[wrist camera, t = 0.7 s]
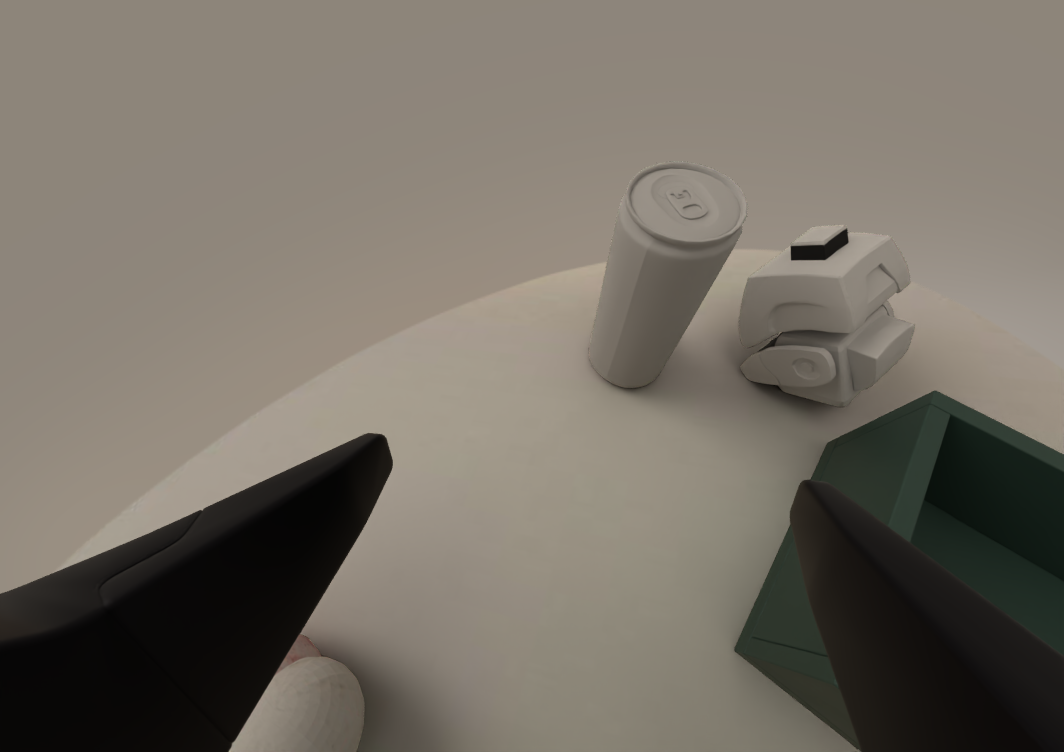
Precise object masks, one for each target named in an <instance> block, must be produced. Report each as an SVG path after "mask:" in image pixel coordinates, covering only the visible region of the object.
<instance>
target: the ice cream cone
mask: <svg viewBox="0 0 1064 752" xmlns="http://www.w3.org/2000/svg"><path fill="white" fill-rule="evenodd" d="M363 728H364V698H363V695H362V692H361V688H360V685H359V682H358V679H357V678H356V677H355V676H354V675H353V674H352V672H351V671H350V670H349V669H348V668H347V667H346V666H345V665H344V664H343V663H340V662H338V661H335V660H333V659H331V658H328V657H321V654H320V652H319V650H318V649H317V648H316V647H315V646H314V644H313V643H312V642H311V641H310V640H309V639H308V638H307V637H305V636H303V635H301V634H299V636H298V637H297V639H296V641H295V642H294V644H293V646H292V647H291V649H290V651H289V652H288V654H287V656H286V657H285V659H284V661H283V662H282V664H281V666H280V667H279V669H278V671H277V672H276V674H275V676H274V677H273V679H272V680H271V682H270V684H269V685H268V687H267V689H266V690H265V692H264V694H263V695H262V697H261V699H260V700H259V702H258V704H257V705H256V707H255V709H254V710H253V712H252V714H251V715H250V717H249V719H248V720H247V722H246V723H245V725H244V727H243V728H242V730H241V732H240V733H239V735H238V737H237V738H236V740H235V741H234V743H232V747H231V749H230V750H229V752H357V749H358V746H359V742H360V739H361V735H362V731H363Z"/></svg>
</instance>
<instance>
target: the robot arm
mask: <svg viewBox="0 0 1064 752" xmlns="http://www.w3.org/2000/svg"><path fill="white" fill-rule="evenodd" d="M392 466H393V460H392V456H391V453H390V449H389V446H388V442H387V439H386V437H385V436H384V435H382V434H374V433H367V434H364V435H362V436H360V437H358V438H356V439H353V440H351V441H349V442H347V443H345V444H343V445H340V446H338V447H336V448H334V449H332V450H330V451H327V452H325V453H323V454H321V455H319V456H317V457H314V458H312V459H310V460H308V461H306V462H304V463H301V464H299V465H297V466H295V467H293V468H291V469H288V470H286V471H284V472H282V473H280V474H278V475H275V476H273V477H271V478H269V479H267V480H265V481H262V482H260V483H258V484H256V485H254V486H252V487H249V488H247V489H245V490H243V491H241V492H239V493H236V494H234V495H232V496H230V497H228V498H226V499H223V500H221V501H219V502H217V503H215V504H213V505H210V506H208V507H206V508H204V509H203V511H202V510H199V511H197V512H195V513H193V514H191V515H188V516H186V517H184V518H182V519H180V520H178V521H175V522H173V523H171V524H169V525H166V526H164V527H162V528H160V529H157V530H155V531H153V532H151V533H149V534H146V535H144V536H142V537H139V538H137V539H134V540H132V541H130V542H127V543H125V544H123V545H120V546H118V547H115V548H113V549H111V550H108V551H106V552H103V553H101V554H99V555H96V556H94V557H91V558H89V559H86V560H84V561H82V562H79V563H77V564H74V565H72V566H69V567H67V568H65V569H62V570H60V571H57V572H55V573H52V574H50V575H48V576H45V577H43V578H40V579H38V580H36V581H33V582H31V583H28V584H26V585H23V586H21V587H18V588H16V589H13V590H10V591H7V592H5V593H1V594H0V752H229V750H230V749H231V747H232V743H234V741H235V740H236V738H237V737H238V735H239V733H240V732H241V730H242V728H243V727H244V725H245V723H246V722H247V720H248V719H249V717H250V715H251V714H252V712H253V710H254V709H255V707H256V705H257V704H258V702H259V700H260V699H261V697H262V695H263V694H264V692H265V690H266V689H267V687H268V685H269V684H270V682H271V680H272V679H273V677H274V676H275V674H276V672H277V671H278V669H279V667H280V666H281V664H282V662H283V661H284V659H285V657H286V656H287V654H288V652H289V651H290V649H291V647H292V646H293V644H294V642H295V641H296V639H297V637H298V636H299V634H300V633H301V631H302V629H303V628H304V626H305V624H306V623H307V621H308V619H309V618H310V616H311V614H312V613H313V611H314V609H315V608H316V606H317V604H318V603H319V601H320V599H321V598H322V596H323V594H324V593H325V591H326V590H327V588H328V586H329V585H330V583H331V581H332V580H333V578H334V576H335V575H336V573H337V571H338V570H339V568H340V566H341V565H342V563H343V561H344V560H345V558H346V556H347V555H348V553H349V551H350V550H351V548H352V547H353V545H354V543H355V542H356V540H357V538H358V537H359V535H360V533H361V531H362V530H363V528H364V526H365V524H366V522H367V520H368V518H369V517H370V514H371V512H372V510H373V508H374V506H375V504H376V502H377V500H378V498H379V496H380V494H381V491H382V489H383V487H384V485H385V483H386V481H387V479H388V477H389V475H390V473H391V470H392ZM790 523H791V527H792V532H793V536H794V541H795V545H796V549H797V554H798V558H799V562H800V567H801V571H802V575H803V580H804V584H805V588H806V592H807V596H808V600H809V603H810V606H811V610H812V613H813V616H814V619H815V621H816V624H817V627H818V630H819V633H820V636H821V638H822V641H823V644H824V647H825V650H826V653H827V655H828V658H829V661H830V664H831V667H832V670H833V672H834V675H835V678H836V681H837V684H838V687H839V689H840V692H841V695H842V698H843V701H844V704H845V707H846V709H847V712H848V715H849V718H850V721H851V724H852V726H853V729H854V732H855V735H856V738H857V741H858V743H859V746H860V749H861V752H1064V656H1063V655H1062V654H1061V653H1059V652H1058V651H1056V650H1055V649H1054V648H1052V647H1051V646H1050V645H1048V644H1047V643H1046V642H1044V641H1043V640H1042V639H1040V638H1039V637H1038V636H1036V635H1035V634H1033V633H1032V632H1031V631H1029V630H1028V629H1027V628H1025V627H1024V626H1023V625H1021V624H1020V623H1019V622H1017V621H1016V620H1014V619H1013V618H1012V617H1010V616H1009V615H1008V614H1006V613H1005V612H1004V611H1002V610H1001V609H1000V608H998V607H997V606H996V605H994V604H993V603H991V602H990V601H989V600H987V599H986V598H985V597H983V596H982V595H981V594H979V593H978V592H977V591H975V590H974V589H972V588H971V587H970V586H968V585H967V584H966V583H964V582H963V581H962V580H960V579H959V578H958V577H956V576H955V575H953V574H952V573H951V572H949V571H948V570H947V569H945V568H944V567H943V566H941V565H940V564H939V563H937V562H936V561H935V560H933V559H932V558H930V557H929V556H928V555H926V554H925V553H924V552H922V551H921V550H920V549H918V548H917V547H916V546H914V545H913V544H911V543H910V542H909V541H907V540H906V539H905V538H903V537H902V536H901V535H899V534H898V533H897V532H895V531H894V530H892V529H891V528H890V527H888V526H887V525H886V524H884V523H883V522H882V521H880V520H879V519H878V518H876V517H875V516H874V515H872V514H871V513H869V512H868V511H867V510H865V509H864V508H863V507H861V506H860V505H859V504H857V503H856V502H855V501H853V500H852V499H850V498H849V497H848V496H846V495H845V494H844V493H842V492H841V491H840V490H838V489H837V488H836V487H834V486H833V485H831V484H830V483H828V482H823V481H813V480H804V481H802V482H801V483H800V485H799V487H798V490H797V493H796V496H795V499H794V502H793V505H792V507H791V511H790Z"/></svg>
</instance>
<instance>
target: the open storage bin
mask: <svg viewBox="0 0 1064 752" xmlns="http://www.w3.org/2000/svg"><path fill="white" fill-rule="evenodd" d="M811 480H813V481H823V482H828V483H830V484H831V485H833V486H834V487H836V488H837V489H838V490H840V491H841V492H842V493H844V494H845V495H846V496H848V497H849V498H850V499H852V500H853V501H855V502H856V503H857V504H859V505H860V506H861V507H863V508H864V509H865V510H867V511H868V512H869V513H871V514H872V515H874V516H875V517H876V518H878V519H879V520H880V521H882V522H883V523H884V524H886V525H887V526H888V527H890V528H891V529H892V530H894V531H895V532H897V533H898V534H899V535H901V536H902V537H903V538H905V539H906V540H907V541H909V542H910V543H911V544H913V545H914V546H916V547H917V548H918V549H920V550H921V551H922V552H924V553H925V554H926V555H928V556H929V557H930V558H932V559H933V560H935V561H936V562H937V563H939V564H940V565H941V566H943V567H944V568H945V569H947V570H948V571H949V572H951V573H952V574H953V575H955V576H956V577H958V578H959V579H960V580H962V581H963V582H964V583H966V584H967V585H968V586H970V587H971V588H972V589H974V590H975V591H977V592H978V593H979V594H981V595H982V596H983V597H985V598H986V599H987V600H989V601H990V602H991V603H993V604H994V605H996V606H997V607H998V608H1000V609H1001V610H1002V611H1004V612H1005V613H1006V614H1008V615H1009V616H1010V617H1012V618H1013V619H1014V620H1016V621H1017V622H1019V623H1020V624H1021V625H1023V626H1024V627H1025V628H1027V629H1028V630H1029V631H1031V632H1032V633H1033V634H1035V635H1036V636H1038V637H1039V638H1040V639H1042V640H1043V641H1044V642H1046V643H1047V644H1048V645H1050V646H1051V647H1052V648H1054V649H1055V650H1056V651H1058V652H1059V653H1061V654H1062V655H1063V656H1064V454H1062V453H1060V452H1058V451H1056V450H1054V449H1052V448H1050V447H1048V446H1046V445H1044V444H1042V443H1040V442H1038V441H1036V440H1034V439H1032V438H1030V437H1028V436H1026V435H1024V434H1022V433H1020V432H1018V431H1016V430H1014V429H1012V428H1010V427H1008V426H1006V425H1004V424H1002V423H1000V422H998V421H996V420H994V419H992V418H990V417H988V416H986V415H984V414H982V413H980V412H978V411H976V410H974V409H972V408H970V407H968V406H966V405H964V404H962V403H960V402H958V401H956V400H954V399H952V398H950V397H948V396H946V395H944V394H942V393H940V392H938V391H933V392H931V393H929V394H927V395H925V396H922V397H920V398H918V399H916V400H914V401H912V402H910V403H908V404H906V405H904V406H902V407H900V408H898V409H896V410H894V411H892V412H890V413H888V414H886V415H883V416H881V417H879V418H877V419H875V420H873V421H871V422H869V423H867V424H865V425H863V426H861V427H859V428H857V429H855V430H853V431H851V432H849V433H846V434H844V435H842V436H840V437H839V438H836V439H834V440H832V441H830V442H828V443H827V445H826V447H825V450H824V452H823V454H822V456H821V458H820V461H819V463H818V465H817V467H816V470H815V472H814V474H813V476H812V478H811ZM734 650H735V652H737V653H738V654H739V655H740V656H742V657H743V658H744V659H745V660H747V661H748V662H749V663H750V664H752V665H753V666H754V667H755V668H757V669H758V670H759V671H760V672H762V673H763V674H764V675H766V676H767V677H768V678H769V679H771V680H772V681H773V682H774V683H776V684H777V685H778V686H779V687H781V688H782V689H783V690H784V691H786V692H787V693H788V694H789V695H791V696H792V697H793V698H795V699H796V700H797V701H798V702H800V703H801V704H802V705H803V706H805V707H806V708H807V709H808V710H810V711H811V712H812V713H813V714H815V715H816V716H817V717H818V718H820V719H821V720H822V721H823V722H825V723H826V724H827V725H829V726H830V727H831V728H832V729H834V730H835V731H836V732H837V733H839V734H840V735H841V736H842V737H844V738H845V739H846V740H847V741H849V742H850V743H851V744H852V745H854V746H855V747H856V748H858V749H859V750H860V751H861V749H860V746H859V743H858V741H857V738H856V735H855V732H854V729H853V726H852V724H851V721H850V718H849V715H848V712H847V709H846V707H845V704H844V701H843V698H842V695H841V692H840V689H839V687H838V684H837V681H836V678H835V675H834V672H833V670H832V667H831V664H830V661H829V658H828V655H827V653H826V650H825V647H824V644H823V641H822V638H821V636H820V633H819V630H818V627H817V624H816V621H815V619H814V616H813V613H812V610H811V606H810V603H809V600H808V596H807V592H806V588H805V584H804V580H803V575H802V571H801V567H800V562H799V558H798V554H797V549H796V545H795V541H794V536H793V532H792V527H791V525H790V527H789V529H788V532H787V534H786V536H785V538H784V540H783V543H782V545H781V547H780V549H779V551H778V554H777V556H776V558H775V560H774V562H773V565H772V567H771V569H770V571H769V574H768V576H767V578H766V580H765V582H764V585H763V587H762V589H761V591H760V593H759V596H758V598H757V600H756V602H755V605H754V607H753V609H752V611H751V613H750V616H749V618H748V620H747V622H746V624H745V627H744V629H743V631H742V633H741V636H740V638H739V640H738V642H737V644H736V647H735V649H734Z"/></svg>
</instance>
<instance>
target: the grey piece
mask: <svg viewBox="0 0 1064 752" xmlns="http://www.w3.org/2000/svg"><path fill="white" fill-rule="evenodd" d="M909 284H910V274H909V269H908V265H907V263H906V261H905V259H904V257H903V255H902V252H901V251H900V249H899V248H898V247H897V245H896V243H895V242H894V240H893V238H892V237H891V236H887V235H878V234H870V233H862V232H854V233H852V232H851V233H848V232H847V226H846V225H833V226H814V227H813V228H811V229H810V230H808V231H807V232H806V233H804V234H803V235H801V236H800V237H798V238H797V239H796V240H794V241H793V242H792V243H791V246H790V247H789V248H787V249H786V250H784V251H783V252H782V253H780V254H779V255H778V256H776V257H775V258H773V259H772V260H771V261H769V262H768V263H767V264H765V265H764V266H763V267H761V268H760V269H759V270H757V271H756V272H755V273H754V274H752V275H751V276H750V277H749V278H748V280H747V284H746V287H745V290H744V294H743V298H742V303H741V309H740V316H739V334H740V340H741V343H742V345H743V346H744V348H750V347H753V346H755V345H757V344H759V343H761V342H763V341H765V340H767V339H768V338H770V337H772V336H774V335H776V334H778V333H780V332H782V333H781V334H780V335H779V336H778V337H777V338H775V339H774V340H772V341H770V343H769V344H768V345H766V346H765V347H764V348H763V349H761V350H759V351H758V352H757V353H755V354H753V355H752V356H750V357H749V358H748V359H746V360H745V362H744V363H743V364H742V365H741V367H740V369H741V370H742V372H743V373H744V375H745V376H746V378H747V379H749V380H751V381H753V382H759V383H764V384H772V385H778V386H779V387H780V388H781V390H782V391H784V392H786V393H789V394H792V395H796V396H800V397H803V398H807V399H811V400H814V401H818V402H822V403H825V404H829V405H833V406H836V407H845V406H847V405H848V404H849V403H850V402H851V401H852V400H853V399H854V398H855V397H856V396H857V395H858V394H860V393H861V392H862V391H863V390H864V389H868V388H870V387H871V386H872V385H873V384H875V383H876V382H877V381H878V380H879V379H880V378H881V377H882V376H883V375H884V374H885V373H886V372H887V371H888V370H889V369H890V368H891V367H893V366H894V365H895V364H896V363H897V362H898V361H899V360H900V359H901V358H902V357H903V356H904V354H905V353H906V351H907V350H908V347H909V345H910V343H911V339H912V335H913V332H914V328H915V324H913V323H909V322H906V321H903V320H900V319H897V318H894V311H893V308H892V307H891V305H890V303H889V302H888V301H887V300H888V299H889V298H890V297H891V296H892V295H894V294H895V293H899V292H901V291H902V290H903V289H904V288H906V287H907V286H908V285H909Z"/></svg>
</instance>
